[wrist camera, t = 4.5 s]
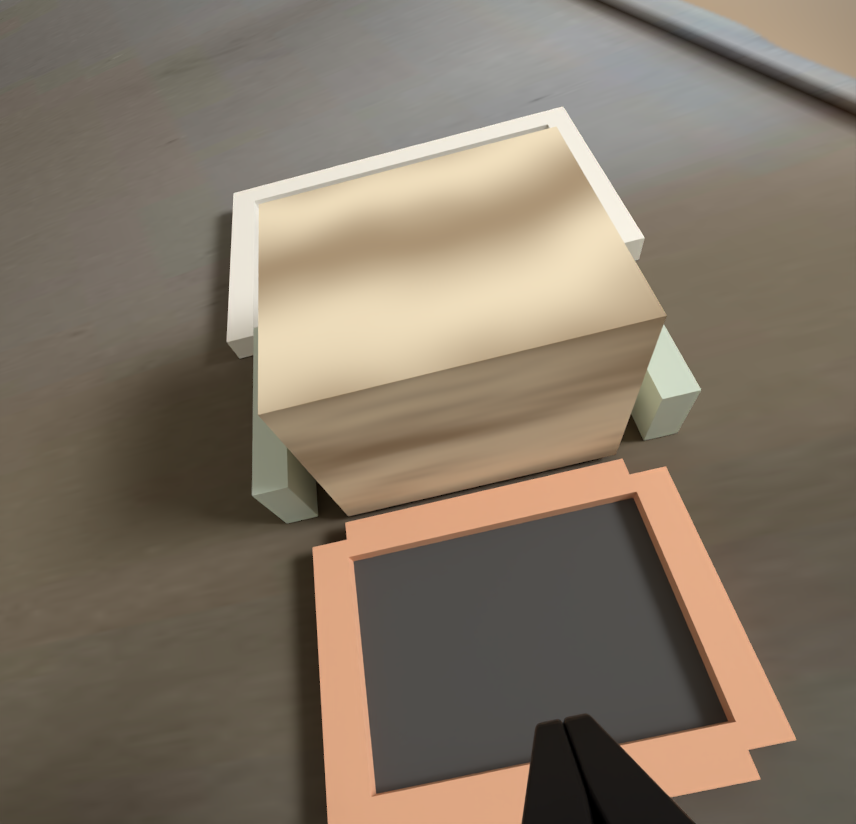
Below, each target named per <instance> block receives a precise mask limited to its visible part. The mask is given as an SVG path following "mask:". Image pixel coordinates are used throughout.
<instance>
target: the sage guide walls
mask: <svg viewBox="0 0 856 824" xmlns="http://www.w3.org/2000/svg"><path fill="white" fill-rule="evenodd" d="M700 391H701V389H700V387H699V385H698V384H697V382H696V380H695V378H694V377H693V375H692V373H691V371H690V370H689V368H688V366H687V364H686V363H685V361H684V359H683V357H682V356H681V354H680V352H679V350H678V349H677V347H676V345H675V343H674V342H673V340H672V338H671V336H670V335H669V333H668V331H667V329H666V328H665V326H664V325H663V327H662V330H661V333H660V336H659V338H658V341H657V344H656V346H655V349H654V352H653V355H652V357H651V360H650V363H649V366H648V368H647V371H646V374H645V376H644V379H643V382H642V385H641V387H640V390H639V393H638V396H637V398H636V401H635V404H634V406H633V409H632V412H631V415H632V417H633V419H634V421H635V423H636V425H637V428H638V430H639V432H640V434H641V436H642V438H643V440H644V441H645V440H649V439H653V438H658V437H662V436H666V435H671V434H675V433H678V431H679V429H680V427H681V425H682V424H683V422H684V420H685V418H686V416H687V415H688V413H689V411H690V409H691V407H692V406H693V404H694V402H695V400H696V399H697V397H698V395H699V393H700ZM252 496H253V497H254V498H255V499H256V500H258V501H259V502H260V503H262V504H263V505H264V506H265V507H267V508H268V509H269V510H270V511H272V512H273V513H274V514H275V515H277V516H278V517H279V518H280V519H282V520H283V521H284V522H285V523H292V522H296V521H300V520H304V519H309V518H313V517H317V516H318V504H317V488H316V479H315V478H314V477H313V476H312V475H311V474H310V473H309V472H308V471H307V469H306V468H305V467H304V466H303V465H302V464H301V463H300V462H299V460H298V459H297V458H296V457H295V456H294V455H293V454H292V453H291V451H290V450H289V449H288V448H287V447H286V446H285V445H284V444H283V443H282V441H281V440H280V439H279V438H278V437H277V436H276V435H275V434H274V432H273V431H272V430H271V429H270V428H269V427H268V426H267V425H266V423H265V422H264V421H263V420H262V419H261V418H260V417H259V416H258V327H256V328H254V344H253V440H252Z"/></svg>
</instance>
